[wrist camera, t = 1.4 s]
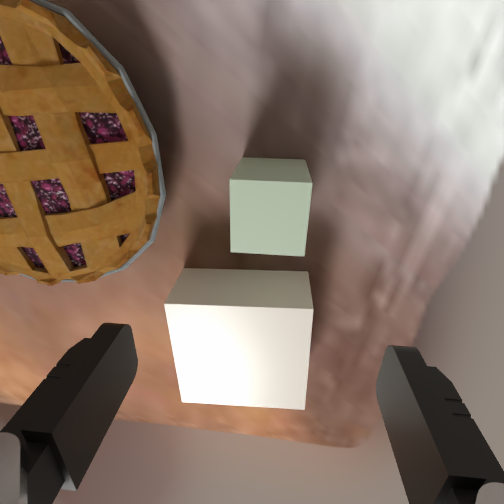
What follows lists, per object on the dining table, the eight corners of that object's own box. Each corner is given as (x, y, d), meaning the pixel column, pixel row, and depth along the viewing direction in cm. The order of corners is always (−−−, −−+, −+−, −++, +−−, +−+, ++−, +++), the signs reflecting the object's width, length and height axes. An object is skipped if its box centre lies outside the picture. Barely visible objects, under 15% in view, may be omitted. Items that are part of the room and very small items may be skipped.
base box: (184, 266, 31) (164, 303, 26) (307, 269, 30) (313, 309, 25) (196, 356, 36) (182, 402, 31) (301, 361, 35) (304, 409, 30)
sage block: (242, 157, 25) (229, 179, 19) (305, 159, 25) (312, 182, 19) (242, 215, 28) (230, 252, 21) (299, 218, 27) (304, 256, 21)
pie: (-145, 37, 24) (-242, 25, 19) (116, -49, 20) (69, -88, 16) (10, 279, 33) (-31, 308, 29) (206, 250, 30) (193, 278, 25)
